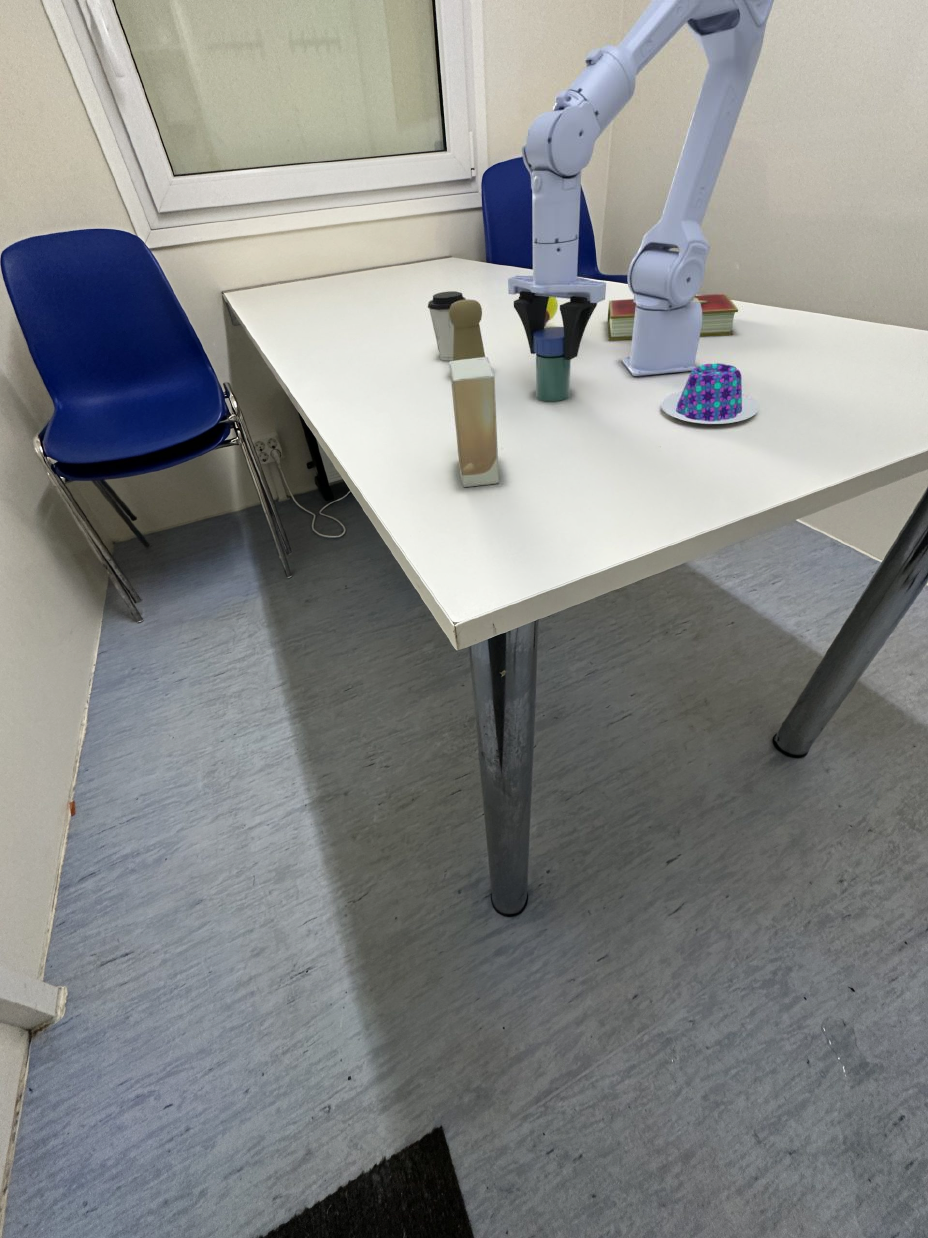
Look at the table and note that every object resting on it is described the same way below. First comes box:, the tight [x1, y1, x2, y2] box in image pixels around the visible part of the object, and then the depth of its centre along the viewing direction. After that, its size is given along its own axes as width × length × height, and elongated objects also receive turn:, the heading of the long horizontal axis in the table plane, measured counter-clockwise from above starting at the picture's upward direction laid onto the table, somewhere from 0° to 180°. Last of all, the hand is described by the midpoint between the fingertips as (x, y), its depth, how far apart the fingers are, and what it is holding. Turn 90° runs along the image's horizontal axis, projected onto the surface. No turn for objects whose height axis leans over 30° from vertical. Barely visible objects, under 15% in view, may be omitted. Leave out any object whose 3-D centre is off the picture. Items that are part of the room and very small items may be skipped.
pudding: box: [660, 362, 760, 425], centre depth 70 cm, size 12×12×5 cm
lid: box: [533, 326, 564, 356], centre depth 76 cm, size 6×6×2 cm
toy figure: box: [544, 297, 559, 328], centre depth 105 cm, size 18×6×7 cm, turn 172°
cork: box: [449, 298, 486, 361], centre depth 88 cm, size 6×6×11 cm
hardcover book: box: [606, 293, 739, 341], centre depth 100 cm, size 12×21×4 cm, turn 80°
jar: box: [535, 353, 572, 403], centre depth 79 cm, size 5×5×8 cm
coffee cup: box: [427, 290, 467, 362], centre depth 96 cm, size 7×7×10 cm
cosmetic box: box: [449, 356, 500, 488], centre depth 61 cm, size 6×4×12 cm
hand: (553, 354), depth 77 cm, fingers closed on lid, 5 cm apart
